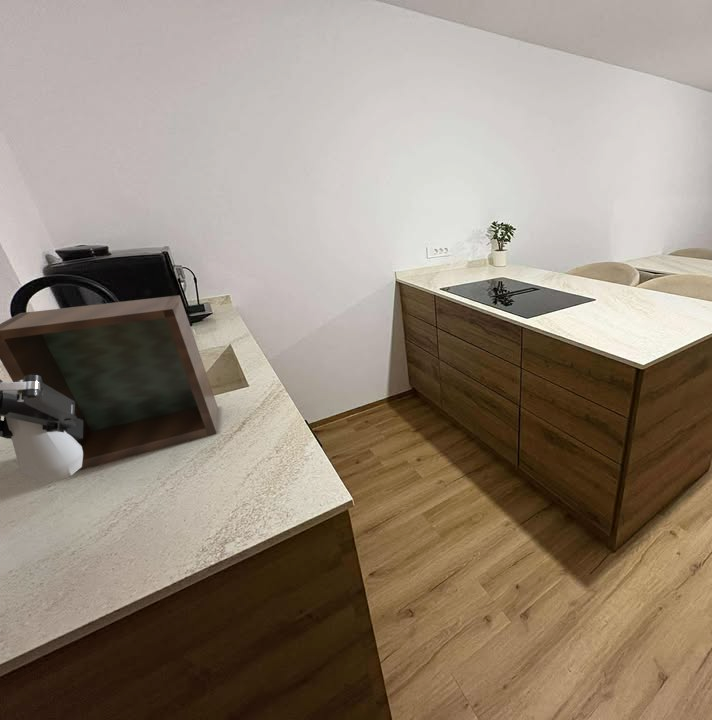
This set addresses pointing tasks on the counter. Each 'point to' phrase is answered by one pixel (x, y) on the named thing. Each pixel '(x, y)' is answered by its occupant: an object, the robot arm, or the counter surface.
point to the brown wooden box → (118, 373)
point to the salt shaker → (44, 451)
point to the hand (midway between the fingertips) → (62, 433)
